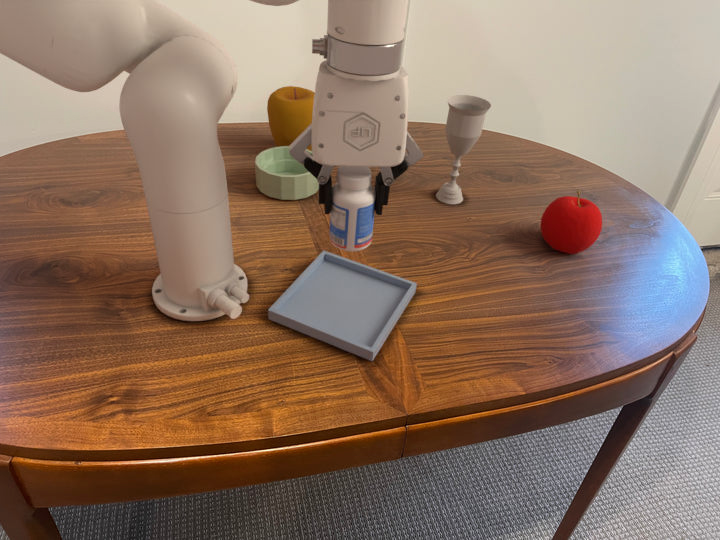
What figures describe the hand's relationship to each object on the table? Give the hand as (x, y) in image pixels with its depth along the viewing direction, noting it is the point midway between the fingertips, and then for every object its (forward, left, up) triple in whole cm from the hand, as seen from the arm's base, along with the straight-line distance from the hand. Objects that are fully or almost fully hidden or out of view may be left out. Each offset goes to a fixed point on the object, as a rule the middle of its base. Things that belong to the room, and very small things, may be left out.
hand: (352, 207), depth 64 cm
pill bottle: (0, 0, -5) cm, 5 cm away
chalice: (+6, -36, -16) cm, 40 cm away
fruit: (-16, -37, -16) cm, 43 cm away
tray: (0, 0, -16) cm, 16 cm away
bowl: (+29, -17, -16) cm, 37 cm away
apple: (+38, -27, -16) cm, 49 cm away
